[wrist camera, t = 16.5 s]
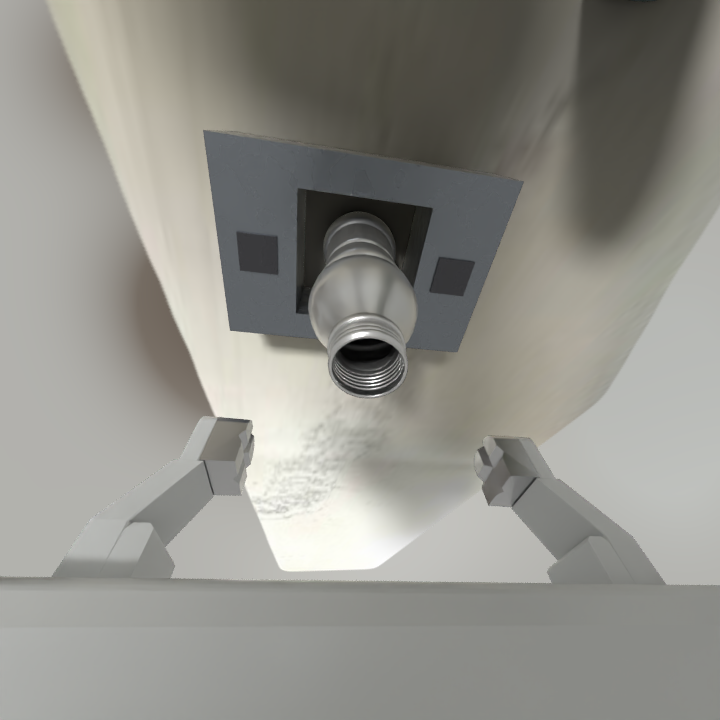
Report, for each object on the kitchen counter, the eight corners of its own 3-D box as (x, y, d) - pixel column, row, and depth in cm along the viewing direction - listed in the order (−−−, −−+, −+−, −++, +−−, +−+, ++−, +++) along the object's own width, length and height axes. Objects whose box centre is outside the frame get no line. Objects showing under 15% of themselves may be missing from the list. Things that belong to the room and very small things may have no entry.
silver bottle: (357, 288, 33) (364, 437, 17) (310, 239, 30) (263, 364, 13) (405, 246, 30) (469, 374, 14) (360, 188, 27) (375, 267, 11)
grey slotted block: (231, 131, 24) (202, 130, 19) (492, 173, 27) (525, 182, 22) (247, 302, 33) (229, 331, 28) (442, 322, 35) (457, 353, 30)
